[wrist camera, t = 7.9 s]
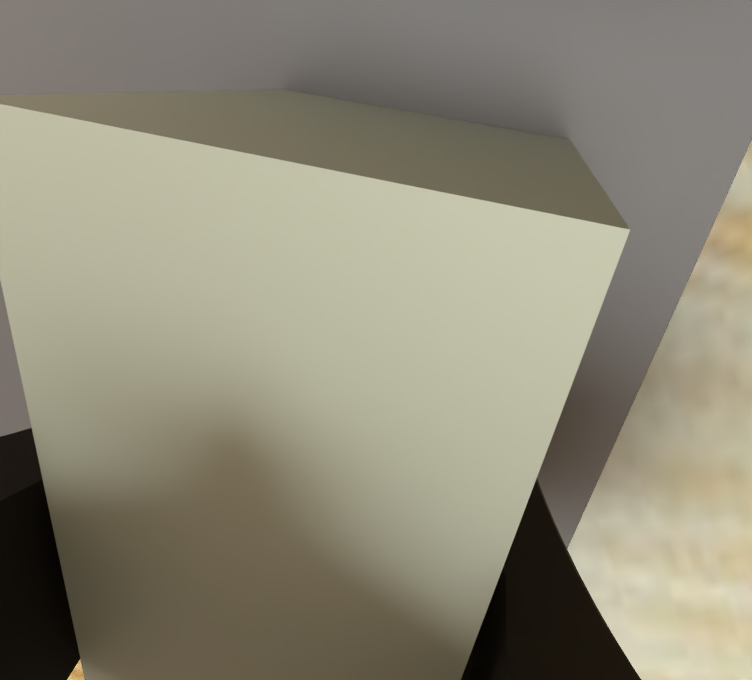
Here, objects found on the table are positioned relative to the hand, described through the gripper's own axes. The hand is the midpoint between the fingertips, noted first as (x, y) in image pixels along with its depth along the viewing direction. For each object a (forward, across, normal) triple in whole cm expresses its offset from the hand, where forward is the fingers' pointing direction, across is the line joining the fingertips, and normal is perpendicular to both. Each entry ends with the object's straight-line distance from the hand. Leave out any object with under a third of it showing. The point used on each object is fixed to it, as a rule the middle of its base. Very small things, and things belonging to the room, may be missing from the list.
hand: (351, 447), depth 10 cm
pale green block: (+2, 0, 0) cm, 2 cm away
